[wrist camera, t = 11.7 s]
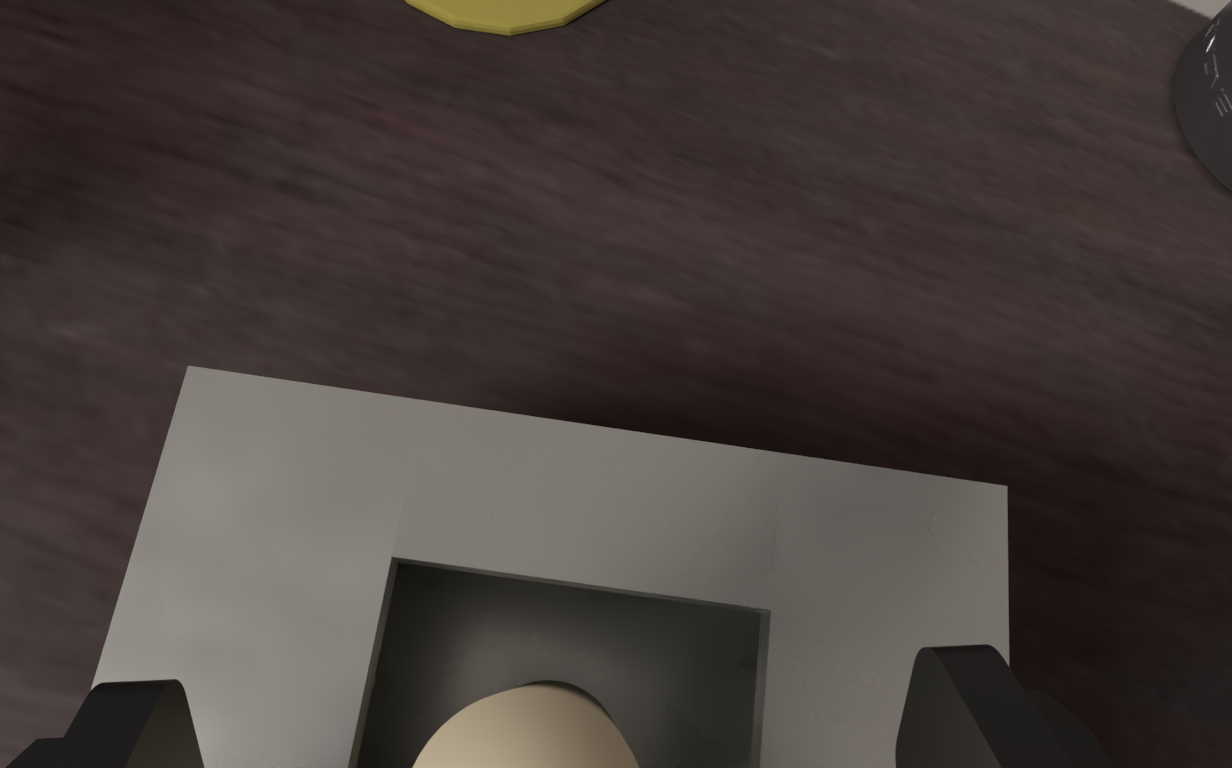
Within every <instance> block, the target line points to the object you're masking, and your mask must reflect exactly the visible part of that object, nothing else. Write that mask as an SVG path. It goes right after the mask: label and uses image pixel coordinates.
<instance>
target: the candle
mask: <svg viewBox="0 0 1232 768" xmlns="http://www.w3.org/2000/svg"><path fill="white" fill-rule="evenodd" d="M405 1H406V2H407V3H408V4H410V5H412V6H414V7H416V8H418V9H419V10H421V11H423V12H425V13H427V14H429V15H431V16H433V17H435V18H437V19H439V20H441V21H443V22H445V23H447V24H449V25H451V26H453V27H455V28H460V29H467V30H474V31H481V32H488V33H495V34H502V35H509V36H511V35H516V34H522V33H527V32H533V31H538V30H543V29H549V28H554V27H560V26H564V25H566V24H567V23H569V22H571V21H572V20H574V19H576V18H577V17H579V16H581V15H582V14H584V13H586V12H587V11H589V10H591V9H592V8H594V7H596V6H597V5H599V4H601V3H602V2H604V1H606V0H405Z"/></svg>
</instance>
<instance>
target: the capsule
mask: <svg viewBox="0 0 1232 768" xmlns="http://www.w3.org/2000/svg"><path fill="white" fill-rule="evenodd" d="M413 768H639V766H638V764H637V761H636V759H635V757H634V755H633V753H632V751H631V750H630V748H629V746H628V745H627V743H626V741H625V740H624V738H623V737H622V735H621V733H620V732H619V730H618V728H617V727H616V725H615V723H614V722H613V720H612V718H611V717H610V715H609V714H608V712H607V710H606V709H605V708H604V707H603V706H602V704H601V703H600V702H599V701H598V700H597V699H596V698H595V697H593V696H592V695H591V694H589V693H588V692H586V691H585V690H583V689H581V688H579V687H577V686H575V685H572V684H569V683H566V682H561V681H554V680H542V681H535V682H530V683H527V684H524V685H521V686H518V687H515V688H512V689H509V690H506V691H503V692H501V693H498V694H495V695H492V696H489V697H486V698H483V699H481V700H479V701H477V702H475V703H473V704H471V705H469V706H467V707H466V708H464V709H463V710H461V711H460V712H458V713H457V714H455V715H454V716H453V717H452V718H450V719H449V720H448V721H447V722H446V723H445V724H444V725H442V726H441V727H440V728H439V730H438V731H437V732H436V733H435V734H434V735H433V736H432V737H431V739H430V740H429V741H428V743H427V744H426V746H425V747H424V748H423V750H422V751H421V753H420V754H419V756H418V758H417V760H416V762H415V764H414V766H413Z"/></svg>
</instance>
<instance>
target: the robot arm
mask: <svg viewBox="0 0 1232 768" xmlns="http://www.w3.org/2000/svg"><path fill="white" fill-rule="evenodd" d="M1173 98H1174V103H1175V108H1176V112H1177V117H1178V121H1179V123H1180V125H1181V128H1182V130H1183V132H1184V135H1185V137H1186V139H1187V141H1188V143H1189V145H1190V146H1191V148H1192V149H1193V151H1194V152H1195V153H1196V155H1197V156H1198V158H1199V159H1200V161H1201V162H1202V164H1203V165H1204V166H1205V167H1206V168H1207V169H1208V170H1209V171H1210V172H1211V173H1212V174H1213V175H1214V176H1215V177H1216V179H1217V180H1218V181H1219V182H1220V183H1221V184H1222V185H1224V186H1225V187H1226V188H1228V189H1229V190H1230V191H1232V0H1231V1H1230V2H1229V3H1228V4H1227V5H1226V6H1225V7H1224V8H1223V9H1222V10H1221V11H1220V12H1219V13H1218V14H1217V15H1216V16H1215V17H1214V18H1213V19H1212V20H1211V21H1210V22H1209V23H1208V24H1207V25H1206V26H1205V27H1204V28H1203V29H1202V30H1201V31H1200V32H1199V33H1198V34H1197V35H1196V36H1195V37H1194V38H1193V39H1192V40H1191V41H1190V43H1189V44H1188V46H1187V47H1186V49H1185V50H1184V52H1183V53H1182V55H1181V56H1180V59H1179V62H1178V65H1177V68H1176V71H1175V74H1174V92H1173ZM895 761H896V768H1117V767H1116V765H1115V764H1114V763H1113V761H1112V760H1111V758H1110V757H1109V755H1108V754H1107V753H1106V751H1105V750H1104V748H1103V747H1102V746H1101V744H1100V743H1099V741H1098V740H1097V738H1096V737H1095V736H1094V734H1093V733H1092V731H1091V730H1090V728H1089V727H1088V726H1087V725H1086V724H1085V723H1084V722H1082V721H1081V720H1080V719H1079V718H1077V717H1076V716H1075V715H1074V714H1073V713H1071V712H1070V711H1069V710H1068V709H1066V708H1065V707H1064V706H1063V705H1062V704H1060V703H1059V702H1058V701H1057V700H1055V699H1054V698H1053V697H1052V696H1051V695H1049V694H1048V693H1047V692H1046V691H1044V690H1038V691H1025V690H1024V689H1023V687H1022V686H1021V684H1020V683H1019V681H1018V679H1017V678H1016V676H1015V675H1014V673H1013V672H1012V670H1011V669H1010V667H1009V666H1008V664H1007V663H1006V661H1005V660H1004V658H1003V657H1002V655H1001V654H1000V653H999V651H998V650H996V649H995V648H994V647H993V646H991V645H988V644H980V645H959V646H937V647H923V648H921V649H920V650H919V651H918V653H917V655H916V657H915V661H914V665H913V669H912V674H911V678H910V683H909V687H908V692H907V696H906V700H905V705H904V709H903V714H902V718H901V722H900V727H899V731H898V736H897V741H896V749H895ZM6 768H204V764H203V760H202V756H201V752H200V748H199V744H198V740H197V736H196V732H195V728H194V724H193V720H192V716H191V712H190V708H189V704H188V700H187V696H186V693H185V689H184V687H183V685H182V683H181V682H180V681H179V680H177V679H166V680H145V681H123V682H102V683H100V684H98V685H96V686H95V687H94V688H93V689H92V690H91V691H90V692H89V694H88V696H87V697H86V699H85V700H84V702H83V704H82V706H81V707H80V709H79V711H78V713H77V715H76V716H75V718H74V720H73V722H72V723H71V725H70V727H69V729H68V730H67V732H66V734H65V736H64V738H46V739H36V740H35V741H34V742H33V743H32V744H31V745H30V746H29V747H28V748H27V749H25V750H24V751H23V752H22V753H21V754H20V755H19V756H18V757H17V758H16V759H14V760H13V761H12V762H11V763H10V764H9V765H8V766H7V767H6Z"/></svg>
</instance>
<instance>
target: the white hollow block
mask: <svg viewBox="0 0 1232 768" xmlns="http://www.w3.org/2000/svg"><path fill="white" fill-rule="evenodd" d="M980 644H988V645H991V646H993V647H994V648H995V649H996V650H998V651H999V653H1000V654H1001V655H1002V657H1003V658H1004V660H1005V661H1006V663H1007V664H1008V666H1009V595H1008V508H1007V486H1004V485H997V484H990V483H983V482H976V481H970V480H963V479H956V478H949V477H942V476H935V475H929V474H922V473H915V472H908V471H901V470H895V469H888V468H881V467H874V466H867V465H861V464H854V463H847V462H840V461H833V460H827V459H820V458H813V457H806V456H799V455H792V454H786V453H779V452H772V451H765V450H758V449H752V448H745V447H738V446H731V445H724V444H718V443H711V442H704V441H697V440H690V439H684V438H677V437H670V436H663V435H656V434H649V433H643V432H636V431H629V430H622V429H615V428H609V427H602V426H595V425H588V424H581V423H575V422H568V421H561V420H554V419H547V418H541V417H534V416H527V415H520V414H513V413H507V412H500V411H493V410H486V409H479V408H472V407H466V406H459V405H452V404H445V403H438V402H432V401H425V400H418V399H411V398H404V397H398V396H391V395H384V394H377V393H370V392H364V391H357V390H350V389H343V388H336V387H329V386H323V385H316V384H309V383H302V382H295V381H289V380H282V379H275V378H268V377H261V376H255V375H248V374H241V373H234V372H227V371H221V370H214V369H207V368H200V367H193V366H188V368H187V372H186V375H185V378H184V382H183V385H182V388H181V392H180V395H179V398H178V402H177V405H176V408H175V412H174V415H173V418H172V422H171V425H170V428H169V432H168V435H167V438H166V442H165V445H164V448H163V452H162V455H161V458H160V462H159V465H158V468H157V472H156V475H155V478H154V482H153V485H152V488H151V492H150V495H149V498H148V502H147V505H146V508H145V512H144V515H143V518H142V522H141V525H140V528H139V532H138V535H137V538H136V542H135V545H134V548H133V552H132V555H131V558H130V562H129V565H128V568H127V572H126V575H125V578H124V582H123V585H122V588H121V592H120V595H119V598H118V602H117V605H116V608H115V612H114V615H113V618H112V622H111V625H110V628H109V632H108V635H107V638H106V642H105V645H104V648H103V652H102V655H101V658H100V662H99V665H98V668H97V672H96V675H95V678H94V682H93V685H92V688H91V690H92V689H93V688H94V687H95V686H96V685H98V684H100V683H102V682H123V681H145V680H166V679H177V680H179V681H180V682H181V683H182V685H183V687H184V689H185V693H186V696H187V700H188V704H189V708H190V712H191V716H192V720H193V724H194V728H195V732H196V736H197V740H198V744H199V748H200V752H201V756H202V760H203V764H204V768H413V766H414V764H415V762H416V760H417V758H418V756H419V754H420V753H421V751H422V750H423V748H424V747H425V746H426V744H427V743H428V741H429V740H430V739H431V737H432V736H433V735H434V734H435V733H436V732H437V731H438V730H439V728H440V727H441V726H442V725H444V724H445V723H446V722H447V721H448V720H449V719H450V718H452V717H453V716H454V715H455V714H457V713H458V712H460V711H461V710H463V709H464V708H466V707H467V706H469V705H471V704H473V703H475V702H477V701H479V700H481V699H483V698H486V697H489V696H492V695H495V694H498V693H501V692H503V691H506V690H509V689H512V688H515V687H518V686H521V685H524V684H527V683H530V682H535V681H542V680H554V681H561V682H566V683H569V684H572V685H575V686H577V687H579V688H581V689H583V690H585V691H586V692H588V693H589V694H591V695H592V696H593V697H595V698H596V699H597V700H598V701H599V702H600V703H601V704H602V706H603V707H604V708H605V709H606V710H607V712H608V714H609V715H610V717H611V718H612V720H613V722H614V723H615V725H616V727H617V728H618V730H619V732H620V733H621V735H622V737H623V738H624V740H625V741H626V743H627V745H628V746H629V748H630V750H631V751H632V753H633V755H634V757H635V759H636V761H637V764H638V766H639V768H896V761H895V749H896V741H897V736H898V731H899V727H900V722H901V718H902V714H903V709H904V705H905V700H906V696H907V692H908V687H909V683H910V678H911V674H912V669H913V665H914V661H915V657H916V655H917V653H918V651H919V650H920V649H921V648H923V647H937V646H959V645H980Z"/></svg>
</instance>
